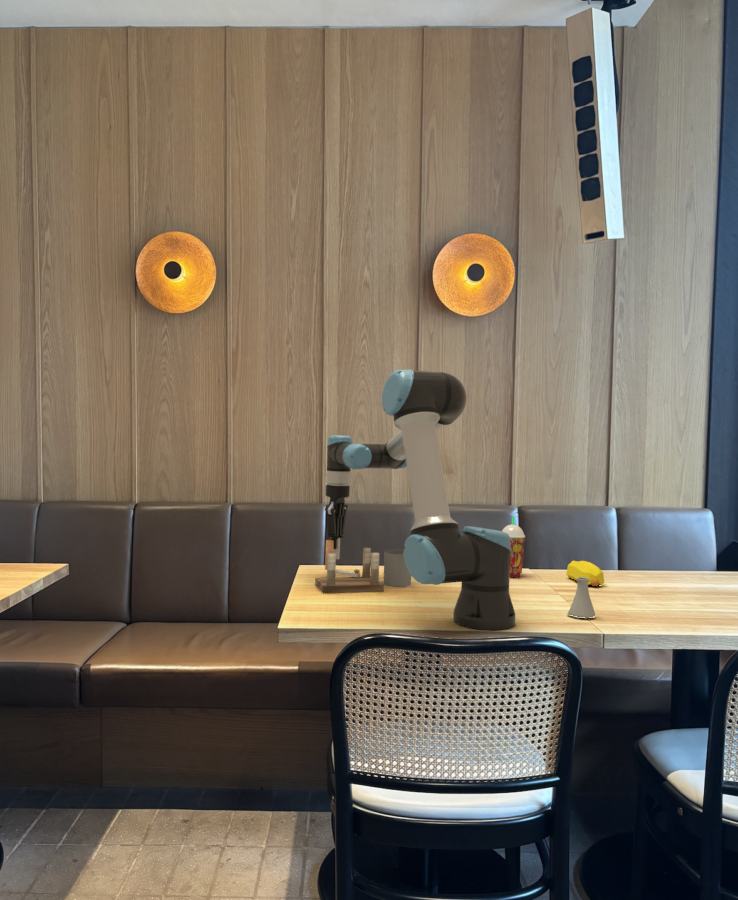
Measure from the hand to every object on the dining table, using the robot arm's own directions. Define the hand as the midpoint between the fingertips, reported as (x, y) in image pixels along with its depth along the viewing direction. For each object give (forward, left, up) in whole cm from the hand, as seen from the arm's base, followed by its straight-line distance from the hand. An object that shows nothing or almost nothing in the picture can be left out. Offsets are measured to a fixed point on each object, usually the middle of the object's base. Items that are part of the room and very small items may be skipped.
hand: (334, 558), depth 219 cm
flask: (-56, -53, -6) cm, 77 cm away
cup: (-12, -17, -6) cm, 22 cm away
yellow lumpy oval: (-17, -79, -7) cm, 81 cm away
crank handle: (-7, -1, -4) cm, 8 cm away
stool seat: (-15, -1, -6) cm, 16 cm away
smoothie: (-5, -59, -6) cm, 60 cm away
